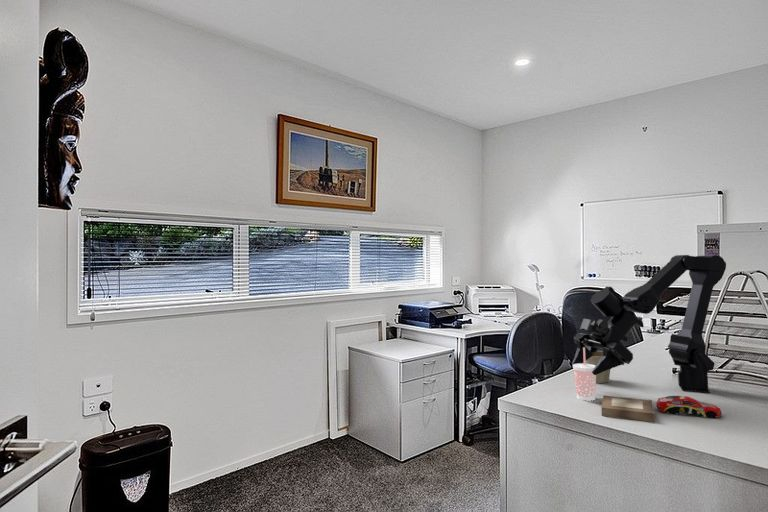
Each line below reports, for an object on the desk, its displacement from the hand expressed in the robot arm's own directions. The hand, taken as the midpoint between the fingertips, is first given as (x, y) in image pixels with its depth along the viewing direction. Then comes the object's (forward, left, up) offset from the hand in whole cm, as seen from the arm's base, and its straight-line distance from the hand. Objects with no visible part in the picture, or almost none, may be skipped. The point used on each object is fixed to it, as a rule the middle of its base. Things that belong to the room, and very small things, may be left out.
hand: (582, 370), depth 123 cm
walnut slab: (-11, +8, -8) cm, 15 cm away
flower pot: (-3, -21, -8) cm, 23 cm away
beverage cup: (-1, 0, -8) cm, 8 cm away
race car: (-24, +3, -8) cm, 25 cm away
